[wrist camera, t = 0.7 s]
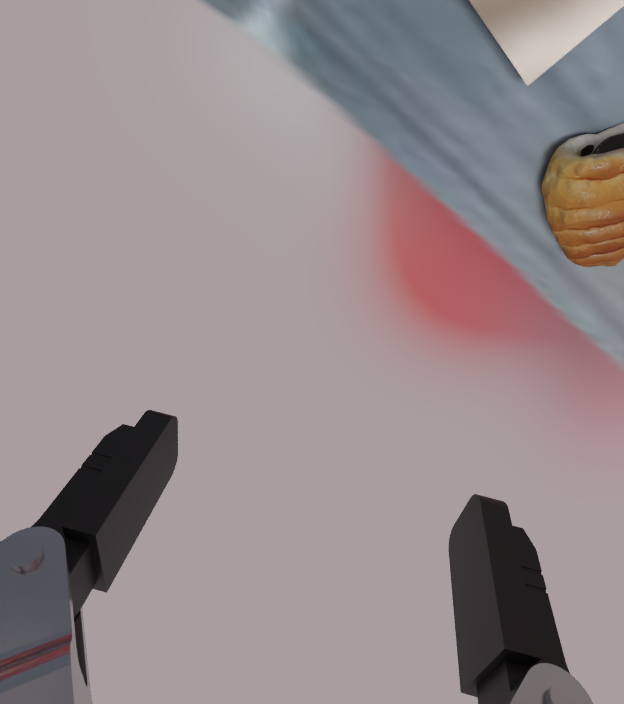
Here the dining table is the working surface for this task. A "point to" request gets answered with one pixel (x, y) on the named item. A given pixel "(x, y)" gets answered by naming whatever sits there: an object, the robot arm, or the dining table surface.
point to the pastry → (588, 197)
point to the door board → (542, 28)
